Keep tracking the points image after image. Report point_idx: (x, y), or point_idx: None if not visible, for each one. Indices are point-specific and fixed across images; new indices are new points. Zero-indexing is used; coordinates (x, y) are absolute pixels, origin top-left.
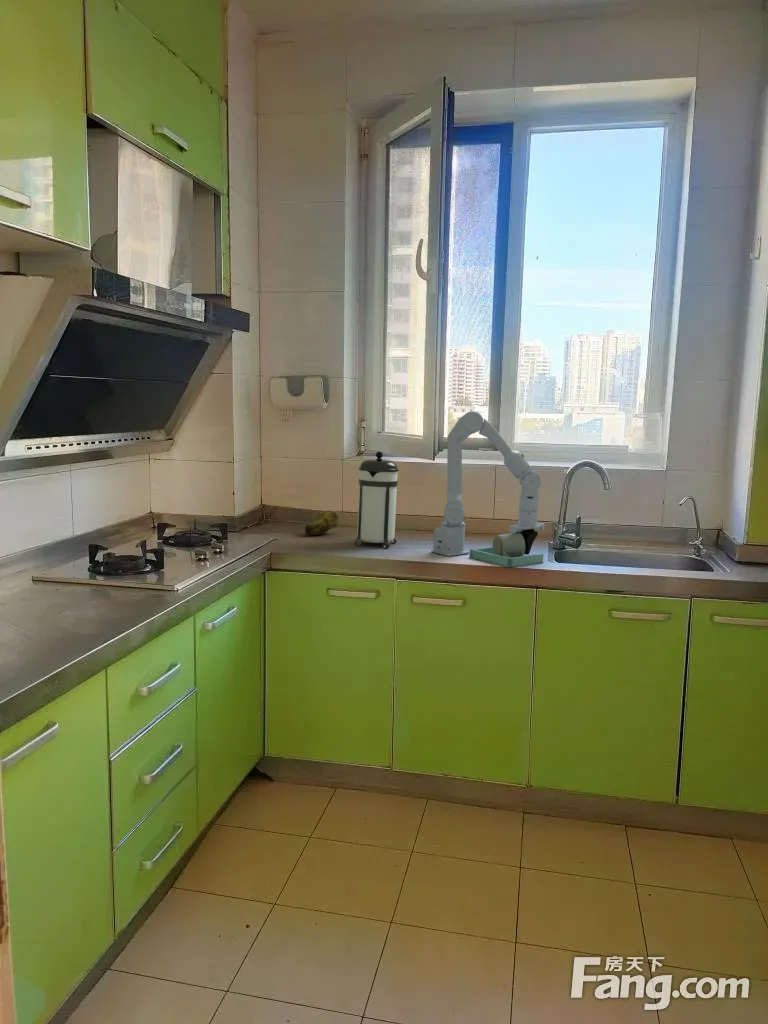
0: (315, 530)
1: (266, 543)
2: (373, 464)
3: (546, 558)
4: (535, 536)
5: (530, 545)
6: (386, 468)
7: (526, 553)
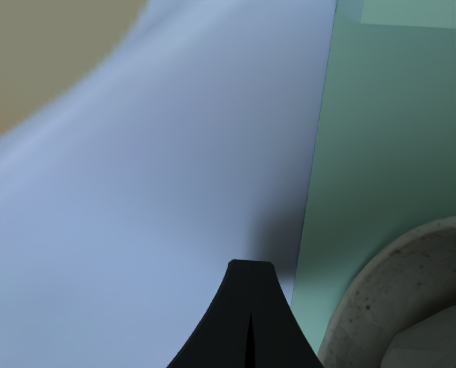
0: None
1: None
2: None
3: (65, 110)
4: None
5: (236, 329)
6: None
7: (273, 274)
